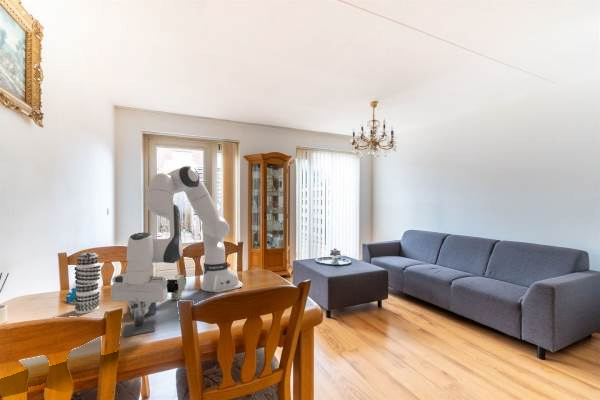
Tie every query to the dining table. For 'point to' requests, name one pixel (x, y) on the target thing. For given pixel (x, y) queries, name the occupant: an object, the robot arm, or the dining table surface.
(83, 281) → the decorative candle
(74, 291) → the gear
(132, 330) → the mat
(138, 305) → the chuck key
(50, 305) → the dining table surface
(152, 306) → the grey base teal knob
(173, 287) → the pneumatic valve
